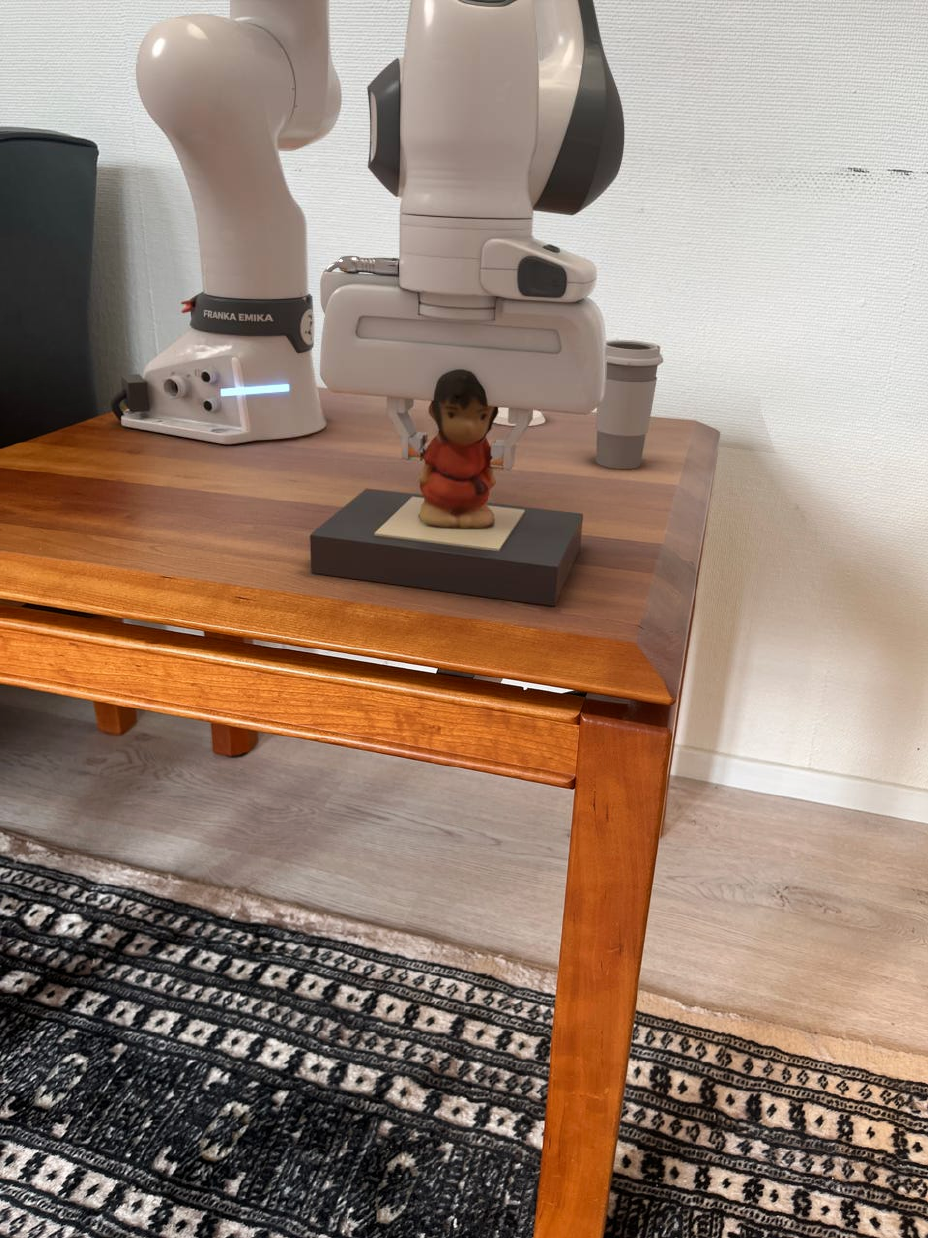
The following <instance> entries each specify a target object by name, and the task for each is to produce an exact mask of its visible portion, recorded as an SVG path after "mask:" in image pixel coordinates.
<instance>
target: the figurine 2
mask: <svg viewBox="0 0 928 1238" xmlns="http://www.w3.org/2000/svg"><path fill="white" fill-rule="evenodd" d="M498 411H499V413H498V415H497V417H496V418H495V419H494V421H493V424H498V425H502V426H509V427H515V425H516V423H515V424H511V423H509V422H508V408H504V407H498ZM544 423H546V418H545V417H544V415H543V414H542V411H537V410H533V419H532V421H531V422H530V424H529V425H528V427H531V426H539V425H543V424H544Z"/></svg>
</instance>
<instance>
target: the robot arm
mask: <svg viewBox="0 0 928 1238" xmlns="http://www.w3.org/2000/svg"><path fill="white" fill-rule="evenodd" d="M408 10H409V11H408V15H407V16H408V18H407V24H406V32H405V33H406V34H405V41H404V49H403V51H404V52H403V57H402V58H398V57H396V58H395V59H394V60H392V61H391V62H390V63H389V64H387V65H386V66H385V67H384V68H383V69H382V70H381V71H380V72H379V73H378V74H377V75H376V76H375V78H373V80H372V81H371V82H370V83H369V84H368V85H367V86H366V90H367V98H368V99H367V100H368V109H369V110H368V111H369V150H368V161H367V168H368V170H369V171H370V172H371V173H372V175H373V177H375V178H376V179H377V180H378V181H379V183H380V184H381V185H382V186H383V187H384V188H385V189H386V190H387V191H388V192H389V193H391V195H393V197H395V198H400V199H401V200H400V206H399V231H398V232H399V235H398V237H399V238H398V239H399V241H398V245H399V246H398V249H399V251H398V253H399V254H398V255H399V256H398V257H370V258H369V257H360V256H357V255H343V256H341V257H339V258H338V261H334V262H332V263H331V264H329V265H327V267H326V268H325V269H324V270H323V272H322V274H321V276H320V282H319V289H320V290H319V291H320V293H319V294H320V306H321V309H322V312H323V315H324V318H323V324H322V331H321V341H320V354H319V355H320V356H319V376H320V380H322V383H324V385H325V386H326V388H327V390H329V391H330V392H332V393H337V394H348V395H349V394H350V395H361V396H371V397H380V398H381V397H382V398H383V397H384V398H386V414H387V415H388V417H389V419H390V421H391V423H392V424H393V427H394V428H395V430H396V432H397V434H398V435H399V437H401V459H402V460H404V461H405V460H406V461H417V462H423V461H424V459H423V458H422V457H421V456H422V454H424V453H425V452H426V450H427V447H428V446H427V443H428V437H429V436H428V435H429V434H428V432H422V431H418V430H417V428H416V425H415V424H414V422H413V420H412V417H411V415H410V413H409V410H411V409H412V408H413V407H414V405H415V404H414V401H416V400H417V401H427V402H431V401H434V392H435V388H436V384H437V382H438V379H439V378H440V377H441V376H442V375H443V374H445V373H447V372H450V371H453V370H457V369H463V370H466V371H470V372H472V373H473V374H474V375H475V376H476V378H477V380H478V381H479V383H480V384H481V385H482V387H483V388H484V390H485V393H486V397H487V404H488V406H493V407H498V408H503V407H504V408H508V422H509V423H511V424H515V423H516V425H515V426H513V429H512V430H511V432H510V433H509V435H508V436H507V438H506V439H505V440H504V439H503V440H501V439H496V440H495V441H494V443H491V445H490V446H491V456H492V459H491V460H490V467H491V468H492V469H493V470H502V471H512V470H513V468H514V466H515V462H516V447H517V443H518V442H519V440H520V439H521V437H522V436H523V435H524V432H525V431H526V430H527V429H528V427H529V426H528V425H529V424H530V422H531V421H532V419H533V410H537V411H539V412H549V413H561V414H570V415H572V414H573V415H582V416H583V415H584V416H587V415H589V414H592V412H594V410H596V409H597V407H598V406H599V404H600V403H601V402H602V401H603V398H604V395H605V389H606V375H607V348H606V341H607V334H606V333H607V332H606V324H605V320H604V316H603V313H602V310H601V309H600V307H599V306H598V303H596V301H594V300H593V299H592V298H589V296H590V295H591V294H592V293H593V292H594V290H595V288H596V286H597V285H596V284H597V278H598V271H597V270H598V269H597V266H596V264H595V263H594V262H593V261H591V260H589V259H588V258H586V257H583V256H580V255H578V254H575V253H573V252H570V251H567V250H565V249H563V248H560V247H558V246H557V245H556V246H555V245H553V244H551V243H548V242H545V241H543V240H540V239H537V238H536V237H534V235H533V228H534V227H533V226H534V211H535V212H542V213H549V214H555V215H556V214H557V215H564V216H565V215H566V216H575V215H577V214H579V213H580V212H581V211H582V210H584V209H586V208H587V207H588V206H590V205H591V204H592V203H594V202H595V201H596V200H597V199H598V198H599V197H601V196H602V194H603V193H605V192H606V191H607V189H609V187H610V186H611V185H612V183H613V182H614V181H615V180H616V179H617V176H618V175H619V172H620V169H621V166H622V162H623V157H624V149H625V118H624V110H623V105H622V101H621V96H620V94H619V90H618V87H617V83H616V82H615V79H614V76H613V73H612V70H611V68H610V65H609V62H608V60H607V56H606V53H605V49H604V45H603V41H602V36H601V31H600V27H599V22H598V17H597V12H596V7H595V2H594V0H410V3H409V9H408ZM330 28H331V27H330V0H229V18H227V17H222V16H218V15H214V14H210V13H196V14H195V13H194V14H187V15H180V16H175V17H169V18H165V19H163V20H160V21H159V22H157V23H155V25H153V26H152V27H151V28H150V29H149V30H148V31H147V33H146V34H145V36H144V37H143V39H142V41H141V43H140V45H139V47H138V51H137V56H136V62H135V79H136V80H135V81H136V86H137V91H138V95H139V98H140V100H141V103H142V105H143V107H144V109H145V111H146V113H147V114H148V116H149V117H150V118H151V120H152V121H153V122H154V123H155V124H156V125H157V126H158V128H159V129H160V130H161V131H162V132H163V133H164V135H165V137H166V138H167V140H168V141H169V143H170V145H171V146H172V148H173V150H174V152H175V155H176V157H177V159H178V162H179V165H180V167H181V169H182V172H183V175H184V178H185V180H186V184H187V187H188V190H189V194H190V197H191V200H192V204H193V209H194V213H195V220H196V226H197V236H198V247H199V256H200V259H199V260H200V269H201V279H202V280H201V281H202V291H201V292H199V293H198V294H195V295H194V296H193V297H192V298H190V299H189V300H184V301H181V302H180V305H185V307H183V308H182V309H181V313H182V314H186V313H190V321H189V326H190V327H189V328H188V329H187V330H186V331H185V332H183V333H182V334H181V335H180V336H179V337H177V338H176V339H175V340H174V341H172V342H171V343H170V344H169V345H168V346H166V347H165V348H164V349H163V350H162V351H161V352H160V353H158V354H157V355H156V356H154V357H153V358H152V359H151V360H149V362H148V363H147V364H146V366H145V367H144V370H143V372H142V376H141V374H139V373H130V374H121V375H120V380H121V381H120V382H121V389H120V391H119V392H118V393H116V394H115V395H114V396H113V397H112V398H111V401H110V409H111V411H112V412H113V414H114V415H115V417H116V418H117V420H118V421H120V423H121V424H120V425H121V426H122V427H127V428H131V429H132V428H133V429H137V430H143V431H148V432H154V433H159V434H165V435H171V436H175V437H176V436H177V437H181V438H187V439H194V440H198V441H204V442H209V443H210V442H211V443H217V444H221V445H222V444H223V445H233V444H241V443H247V442H248V443H249V442H254V441H266V440H267V441H268V440H280V439H282V440H283V439H290V438H297V437H303V436H307V435H310V434H313V433H317V432H319V431H321V430H323V429H325V427H327V424H328V422H327V420H326V417H325V414H324V409H323V407H322V403H321V399H320V395H319V390H318V384H317V379H316V373H315V364H314V357H313V349H314V347H315V345H314V343H315V332H316V331H315V330H316V329H315V328H316V327H315V324H316V323H315V315H314V301H313V295H312V294H310V291H309V264H308V263H309V256H308V255H309V253H308V252H309V251H308V223H307V219H306V218H307V217H306V215H305V213H304V211H303V208H302V207H301V205H299V204H298V202H297V201H296V200H295V198H294V197H293V194H292V192H291V190H290V188H289V185H288V182H287V179H286V175H285V173H284V169H283V165H282V161H281V157H280V152H294V151H296V150H299V149H302V148H305V147H308V146H311V145H313V144H315V143H317V142H319V141H321V140H323V139H324V138H326V137H327V136H328V135H329V134H330V133H331V131H332V130H333V129H334V127H335V126H336V124H337V122H338V119H339V117H340V113H341V110H342V109H341V108H342V103H343V102H342V101H343V100H342V98H343V95H342V86H341V81H340V77H339V75H338V73H337V71H336V68H335V65H334V62H333V58H332V50H331V31H330V30H331V29H330ZM337 269H338V270H339V271H334V270H337ZM121 402H123V404H124V405H125V407H126V409H125V410H124V411H123V410H122V409H121V407H120V404H121Z"/></svg>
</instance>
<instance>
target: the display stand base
mask: <svg viewBox="0 0 928 1238" xmlns="http://www.w3.org/2000/svg"><path fill="white" fill-rule="evenodd" d="M423 502H424V496H423V494H419V493H418V494H417V493H410V492H400V491H393V490H384V489H375V488H365V489H364V490H363V491H361V492H360V493H359V494H358V495H357V496H356V497H354V498H352V500H350V502H348V503H347V504H346V505H345V506H343V507H342V508H341V509H339V510H338V511H337V512H336V513H334V515H332V516H331V517H329V518H328V519H327V520H326V521H325V522H324V523H323V524H321V525H320V526H319V527H317V528H316V529H315V530H314V531H312V532H311V533H310V535H309V546H310V548H309V549H310V573H311V574H315V575H316V574H317V575H323V576H324V575H325V576H331V577H339V578H345V579H353V580H359V581H366V582H367V581H368V582H375V583H381V584H388V585H394V586H395V585H396V586H403V587H410V588H418V589H424V590H434V591H439V592H446V593H453V594H461V595H467V596H468V595H469V596H476V597H483V598H490V599H498V600H505V601H511V602H517V603H518V602H520V603H526V604H533V605H541V606H549V607H555V606H556V604H557V601H558V600H559V598H560V595H561V593H562V590H563V588H564V586H565V583H566V582H567V579H568V577H569V575H570V573H571V570H572V568H573V565H574V563H575V562H576V559H577V557H578V554H579V552H580V550H581V544H582V543H581V542H582V531H583V521H584V514H583V513H581V512H573V511H563V510H555V509H548V508H547V509H546V508H539V507H538V508H537V507H528V506H520V505H513V504H502V503H496V502H488V501H487V502H486V505H487V506H488V507H489V508H490V509H491V510H492V512H493V514H494V519H495V521H494V523H495V524H494V525H493V526H491V527H487V528H454V527H446V526H434V525H429V524H426V523H423V522H422V521H421V520H420V518H419V517H418V515H419V513H420V510H421V505H422V503H423Z"/></svg>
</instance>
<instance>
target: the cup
mask: <svg viewBox="0 0 928 1238" xmlns="http://www.w3.org/2000/svg"><path fill="white" fill-rule="evenodd" d="M606 348H607V375H606V389H605V395H604V398H603V401H602V402H601V403H600V404H599V406H598V407H597V408H596V419H595V420H596V422H595V429H596V430H597V431H596V449H595V450H596V451H595V463H596V464H597V465H599V466H601V467H605V468H609V469H615V470H630V469H637V468H639V467H640V466H641V465H642V458H643V454H644V447H645V442H646V437H647V436H646V435H647V434H648V431H649V427H650V426H649V425H650V421H651V416H652V410H653V404H654V398H655V392H656V388H657V387H656V386H657V380H658V377H657V373H658V366H660V365H662V364H663V363H664V357H663V355H662V353H661V345H659V344H657V343H654V342H649V341H644V340H635V339H634V340H633V339H611V340H610V339H608V340H606Z"/></svg>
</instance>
